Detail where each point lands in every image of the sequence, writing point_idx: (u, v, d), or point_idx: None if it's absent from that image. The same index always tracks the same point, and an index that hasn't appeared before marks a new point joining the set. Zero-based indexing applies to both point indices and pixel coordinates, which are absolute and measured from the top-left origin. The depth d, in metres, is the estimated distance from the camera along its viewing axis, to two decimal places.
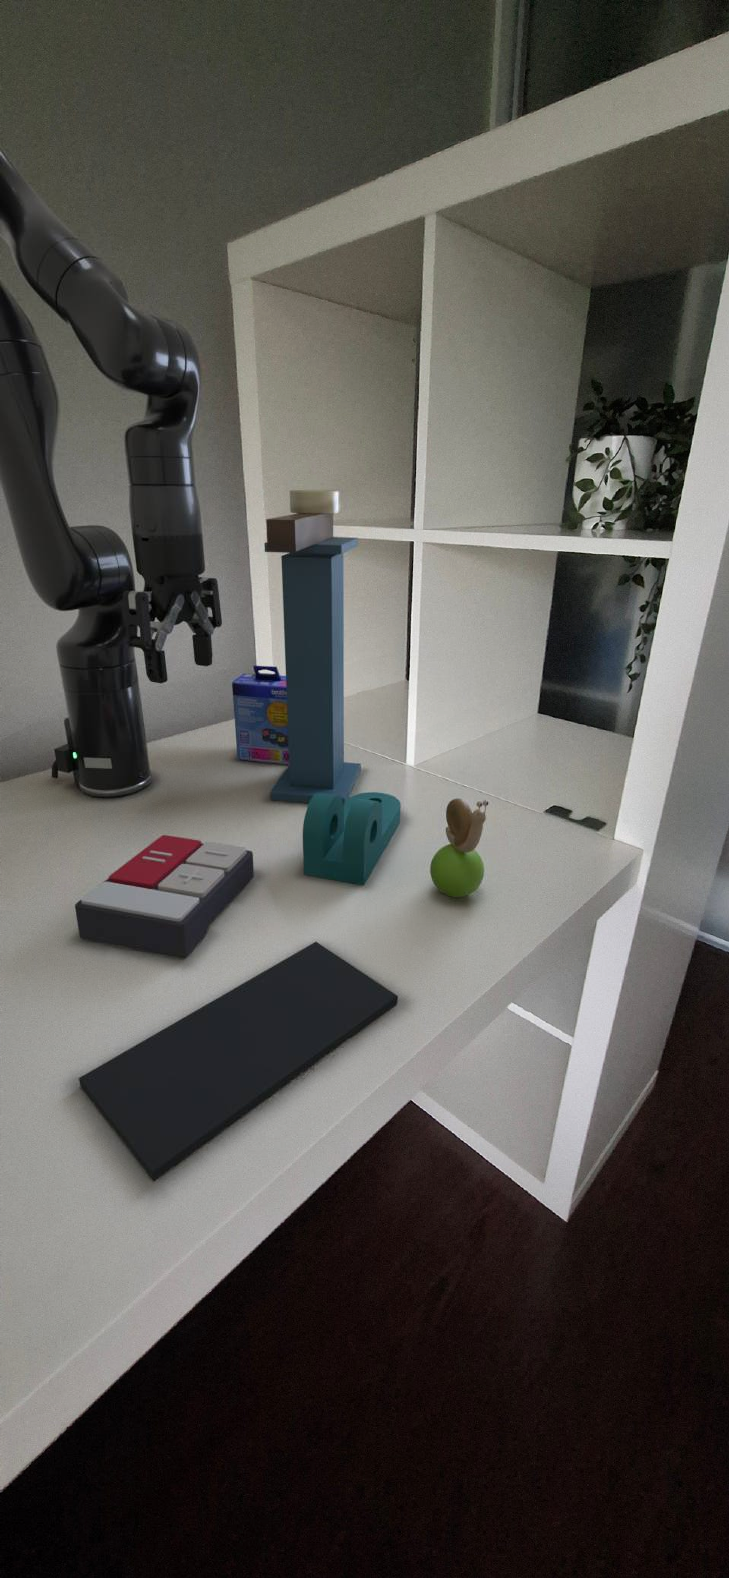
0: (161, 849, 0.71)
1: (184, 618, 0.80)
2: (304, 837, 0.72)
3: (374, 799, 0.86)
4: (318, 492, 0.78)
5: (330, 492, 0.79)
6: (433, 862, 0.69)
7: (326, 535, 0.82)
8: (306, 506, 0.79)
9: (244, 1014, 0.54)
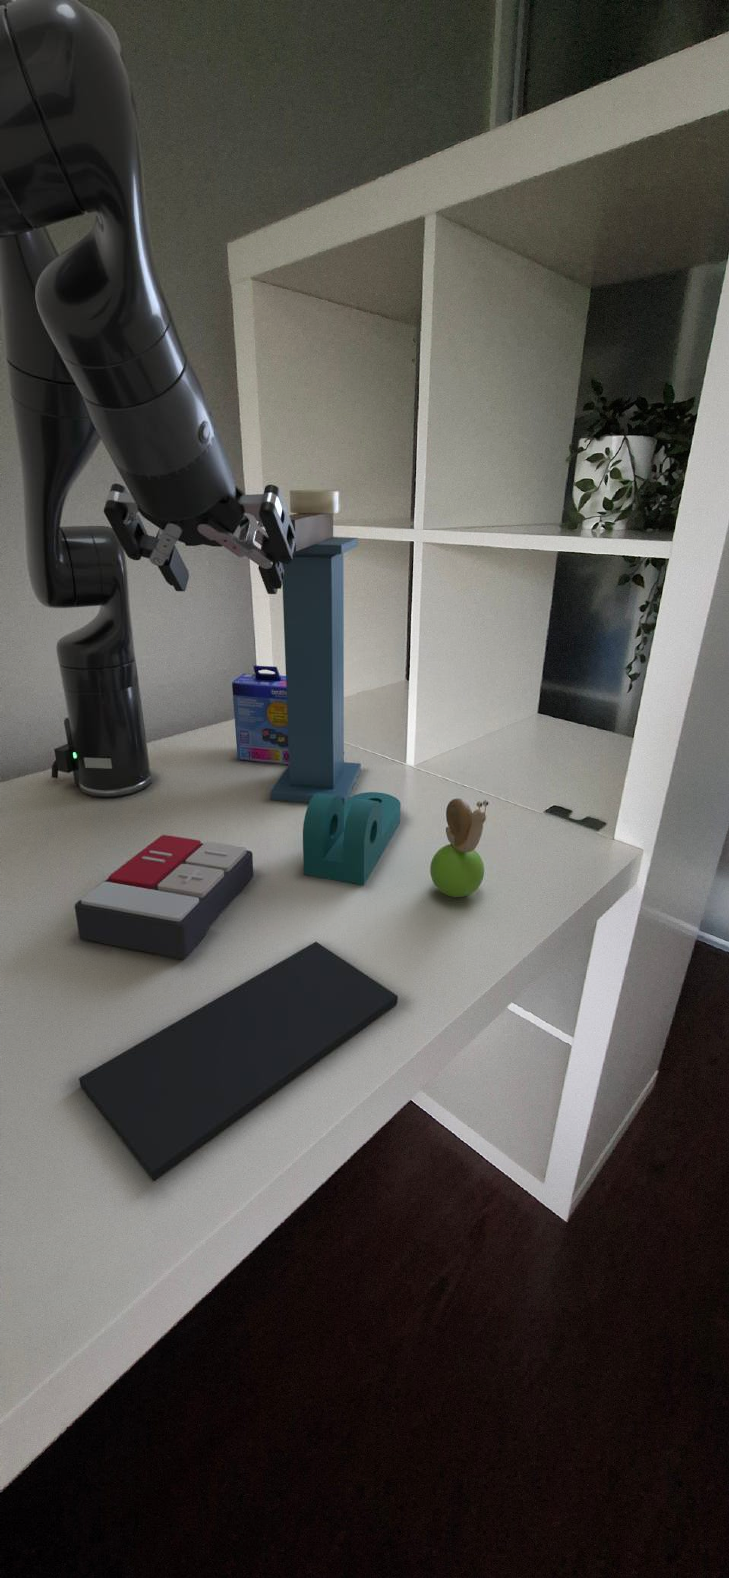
0: (161, 849, 0.71)
1: (203, 542, 0.55)
2: (304, 837, 0.72)
3: (374, 799, 0.86)
4: (318, 492, 0.78)
5: (330, 492, 0.79)
6: (433, 862, 0.69)
7: (326, 535, 0.82)
8: (306, 506, 0.79)
9: (244, 1014, 0.54)
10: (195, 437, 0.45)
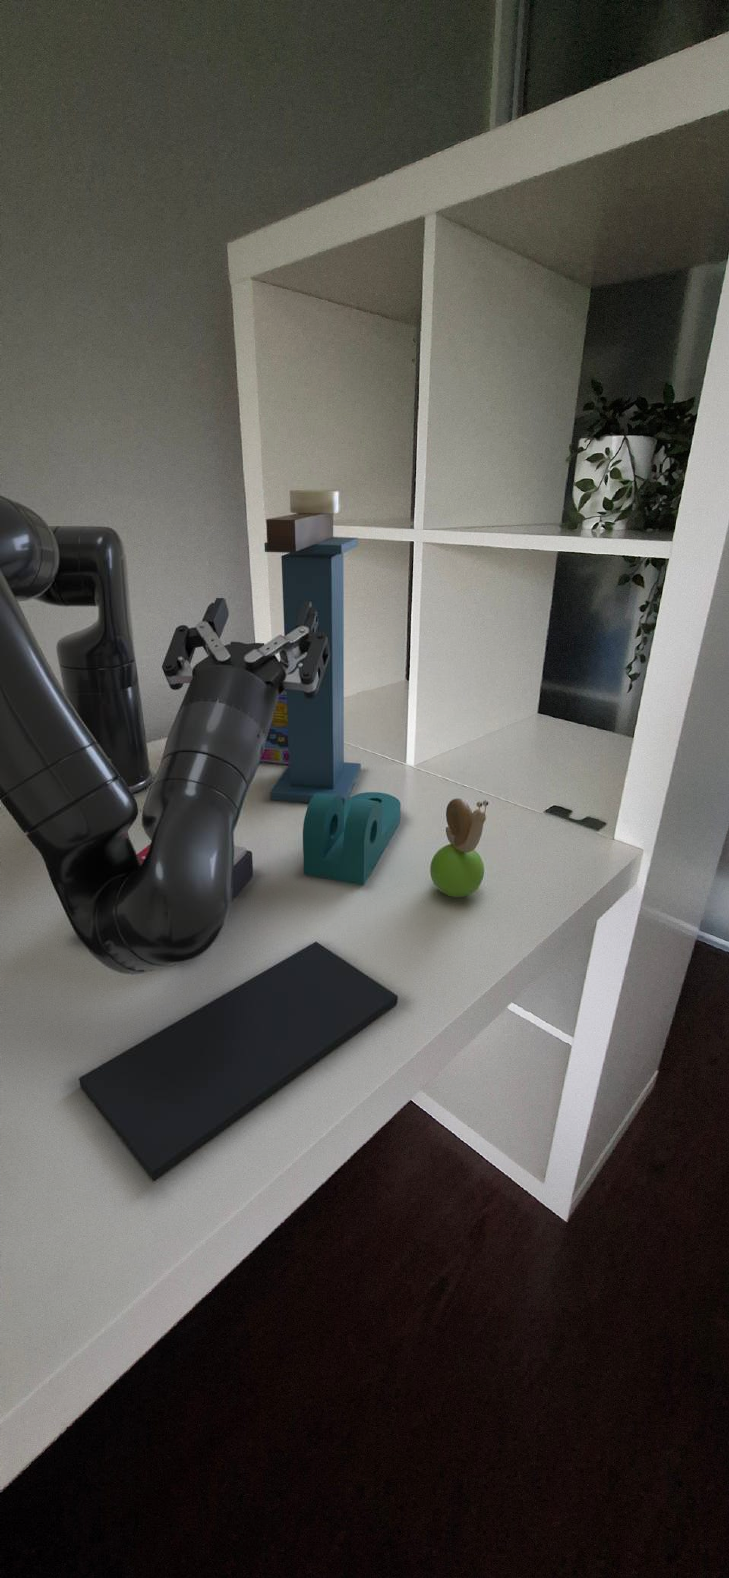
0: None
1: None
2: (304, 837, 0.72)
3: (374, 799, 0.86)
4: (318, 492, 0.78)
5: (330, 492, 0.79)
6: (433, 862, 0.69)
7: (326, 535, 0.82)
8: (306, 506, 0.79)
9: (244, 1014, 0.54)
10: None
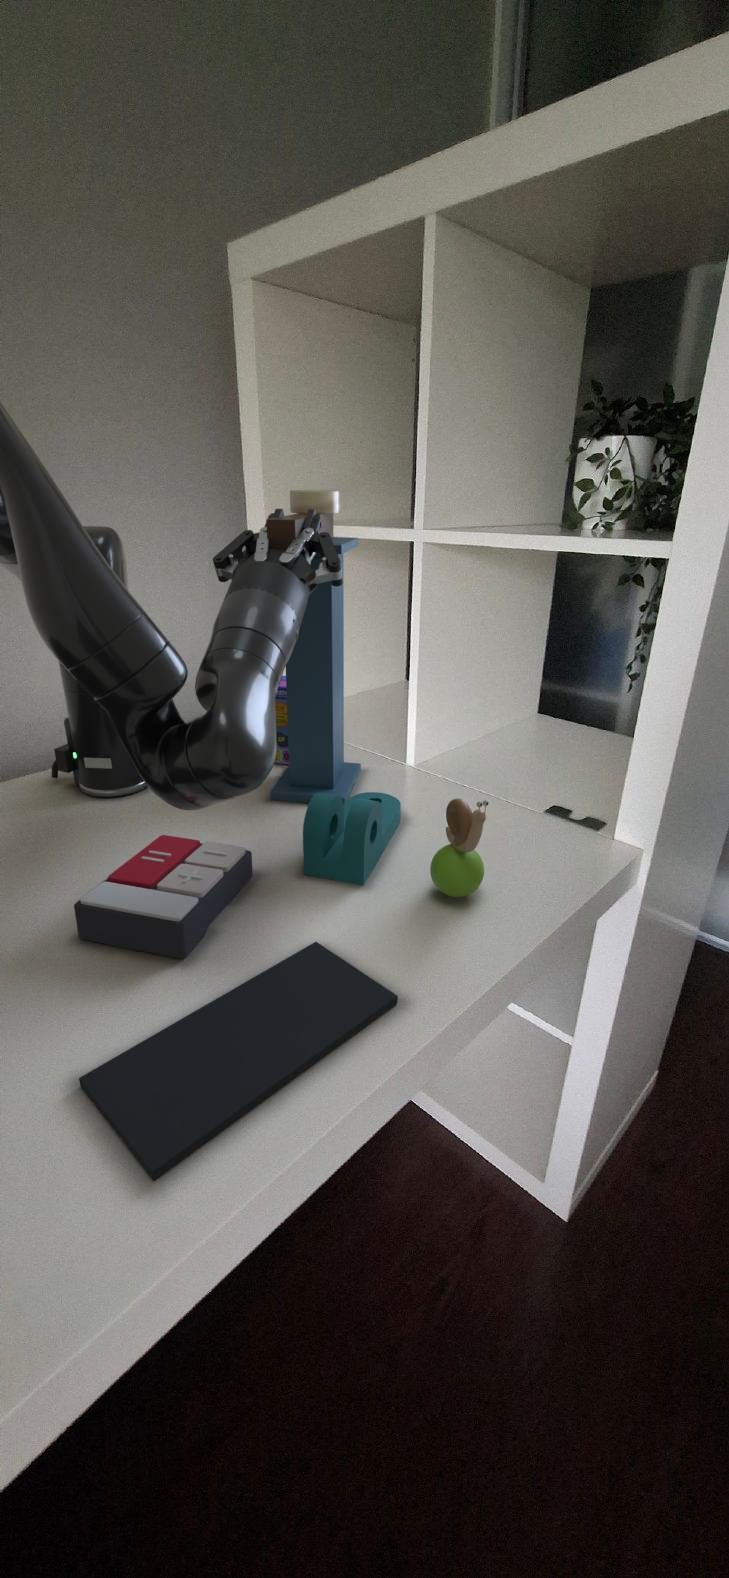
0: (160, 849, 0.71)
1: None
2: (304, 837, 0.72)
3: (374, 799, 0.86)
4: (318, 492, 0.78)
5: (330, 492, 0.79)
6: (433, 862, 0.69)
7: None
8: (306, 506, 0.79)
9: (244, 1014, 0.54)
10: None
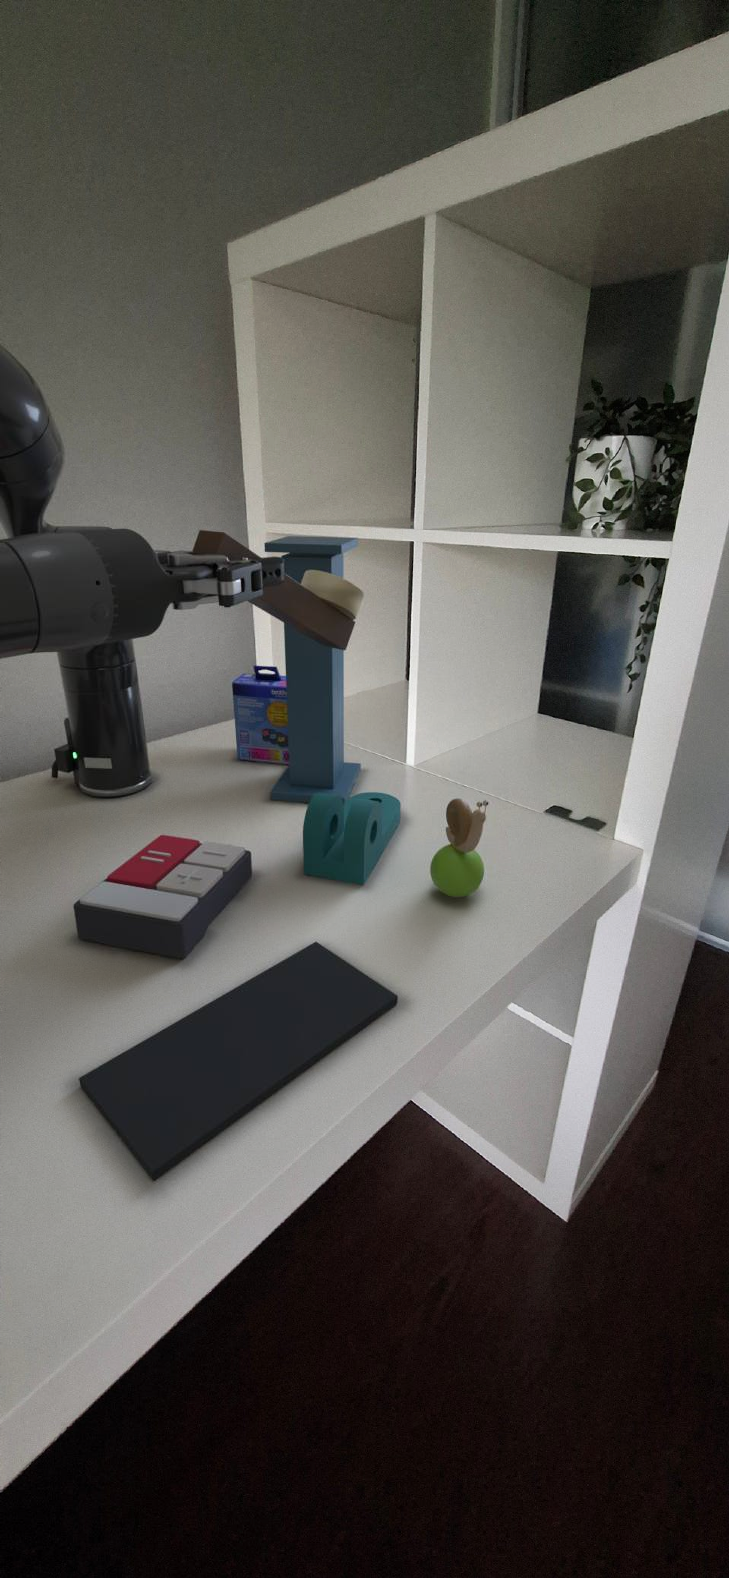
0: (159, 849, 0.71)
1: None
2: (304, 837, 0.72)
3: (374, 799, 0.86)
4: (324, 573, 0.63)
5: (340, 578, 0.63)
6: (433, 862, 0.69)
7: (323, 631, 0.64)
8: (307, 586, 0.63)
9: (244, 1014, 0.54)
10: (95, 625, 0.45)
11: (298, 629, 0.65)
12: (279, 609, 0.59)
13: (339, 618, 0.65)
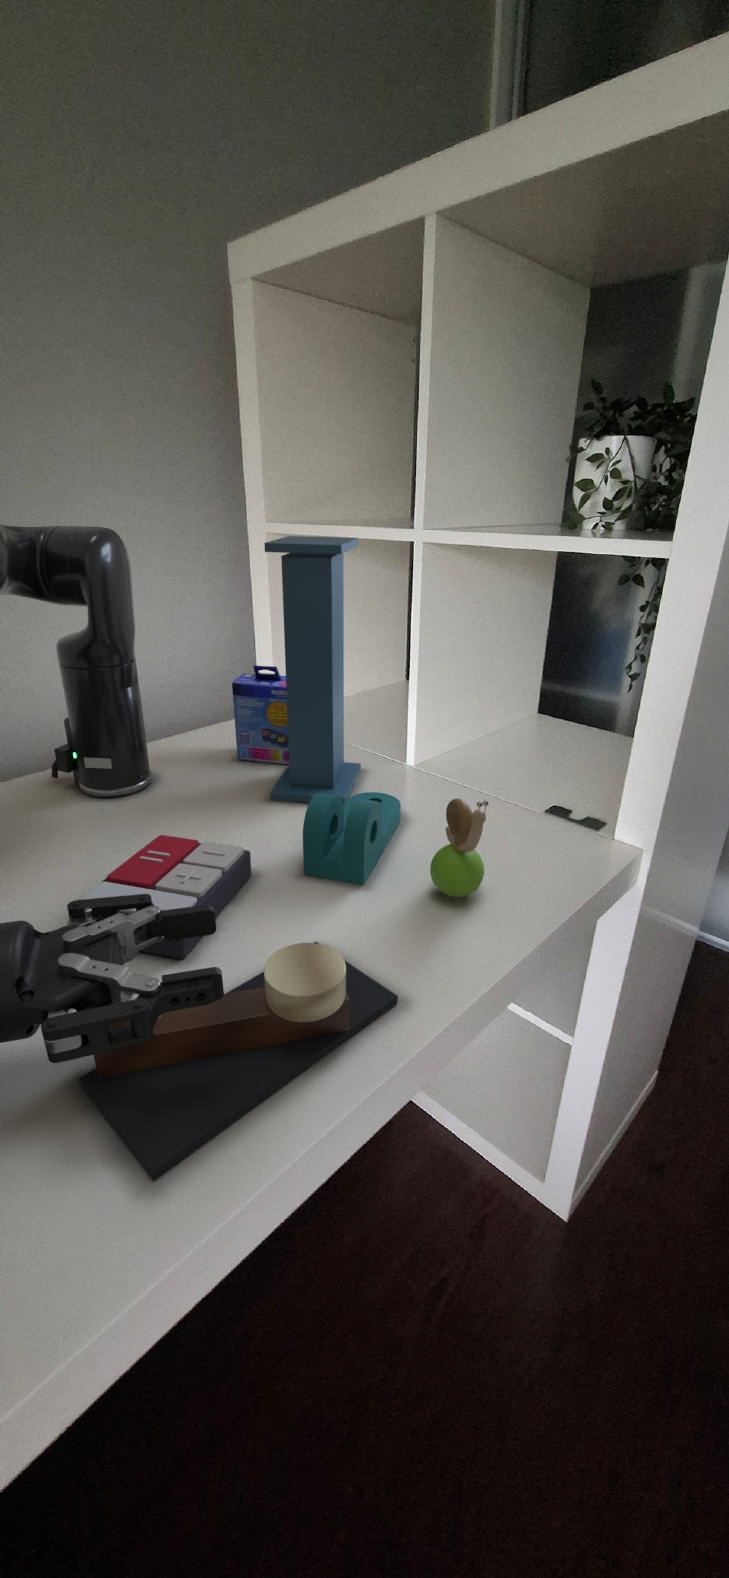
0: (158, 849, 0.71)
1: None
2: (304, 837, 0.72)
3: (374, 799, 0.86)
4: (269, 984, 0.49)
5: (283, 994, 0.48)
6: (433, 862, 0.69)
7: (298, 1035, 0.51)
8: None
9: None
10: None
11: None
12: (215, 1055, 0.50)
13: None
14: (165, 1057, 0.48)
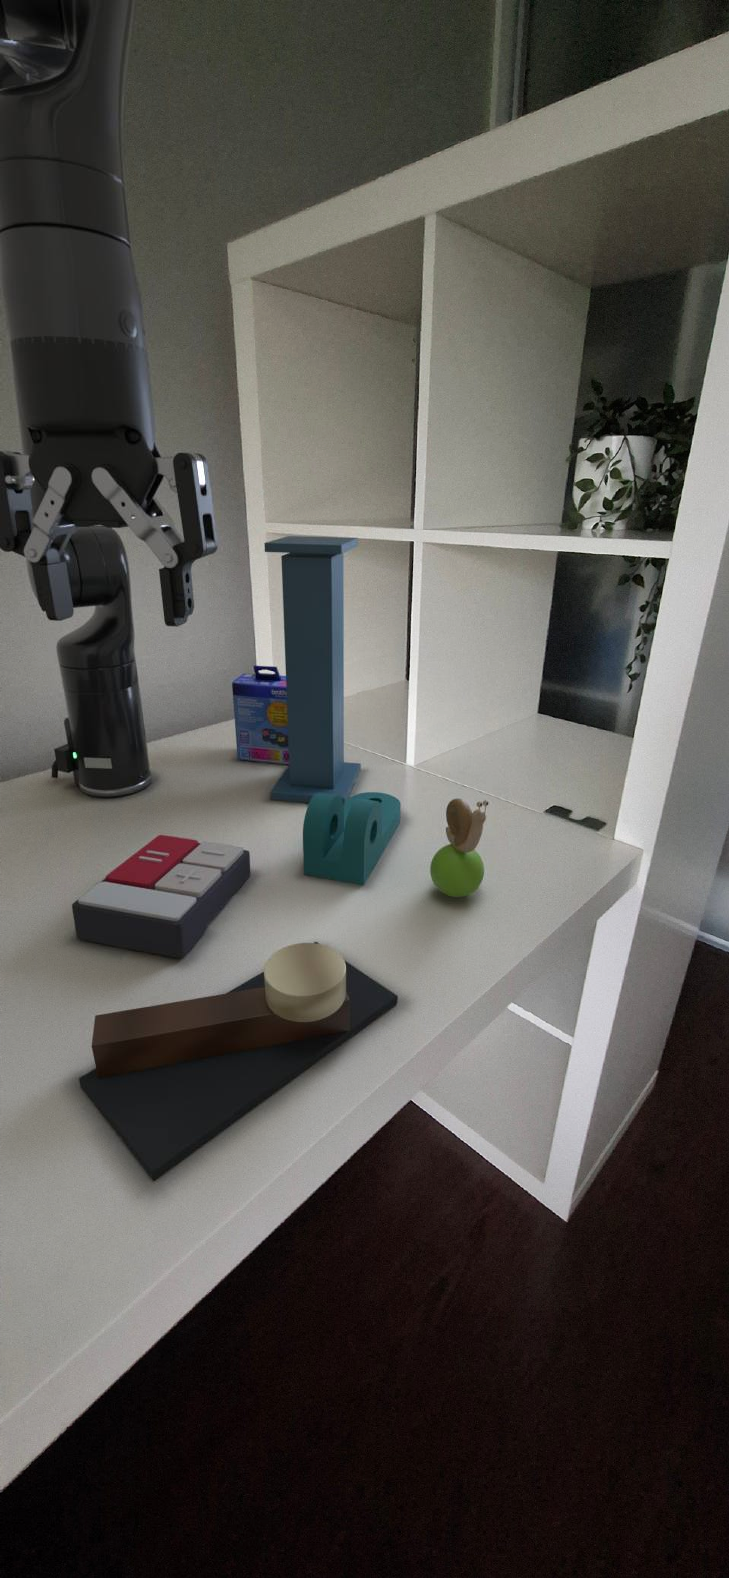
0: (158, 849, 0.71)
1: (97, 519, 0.43)
2: (304, 837, 0.72)
3: (374, 799, 0.86)
4: (269, 984, 0.49)
5: (283, 994, 0.48)
6: (433, 862, 0.69)
7: (298, 1035, 0.51)
8: None
9: None
10: (115, 314, 0.38)
11: None
12: (215, 1055, 0.50)
13: None
14: (165, 1057, 0.48)
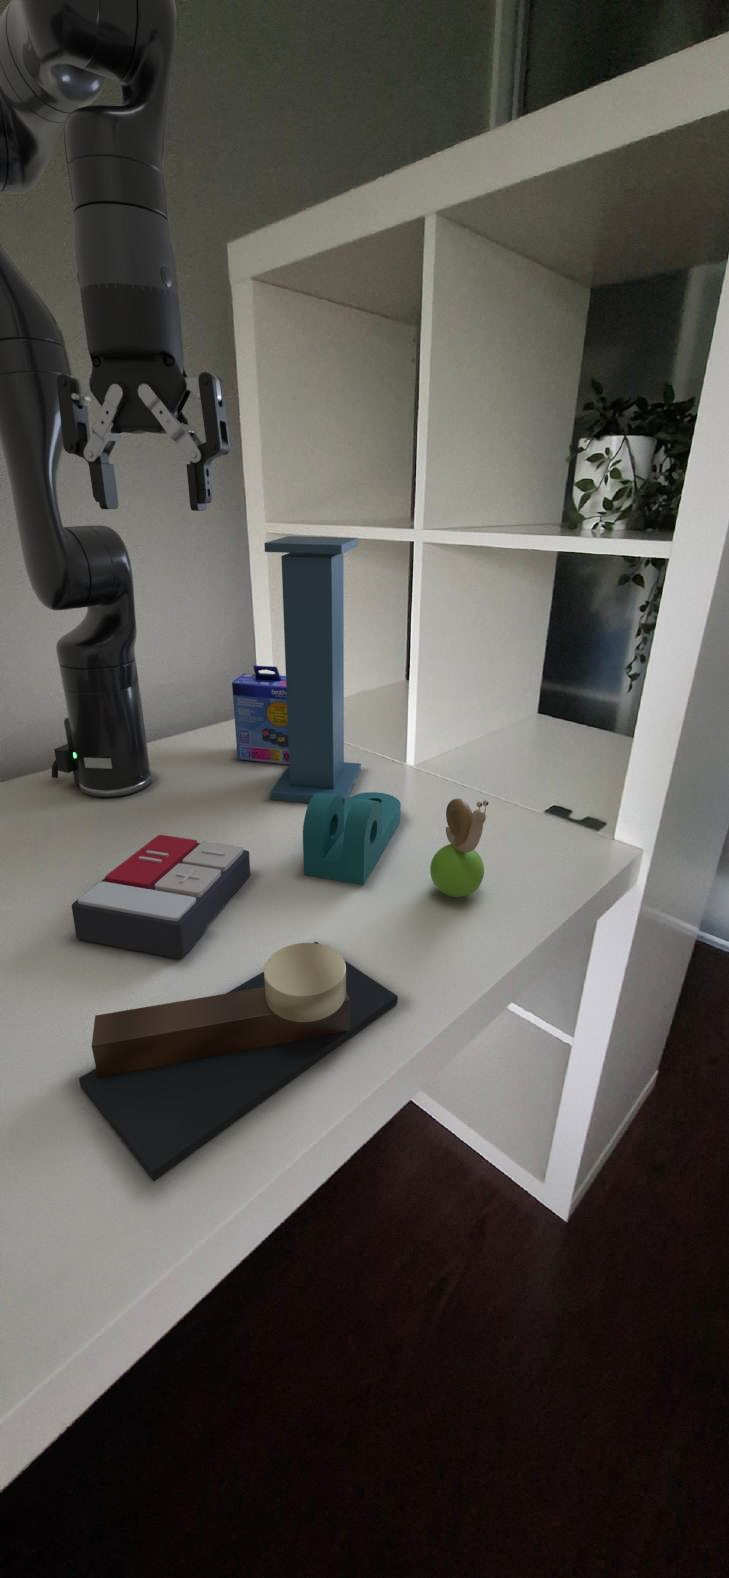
0: (157, 849, 0.71)
1: (140, 425, 0.58)
2: (304, 837, 0.72)
3: (374, 799, 0.86)
4: (269, 984, 0.49)
5: (283, 994, 0.48)
6: (433, 862, 0.69)
7: (298, 1035, 0.51)
8: None
9: None
10: (158, 268, 0.52)
11: None
12: (215, 1055, 0.50)
13: None
14: (165, 1057, 0.48)
